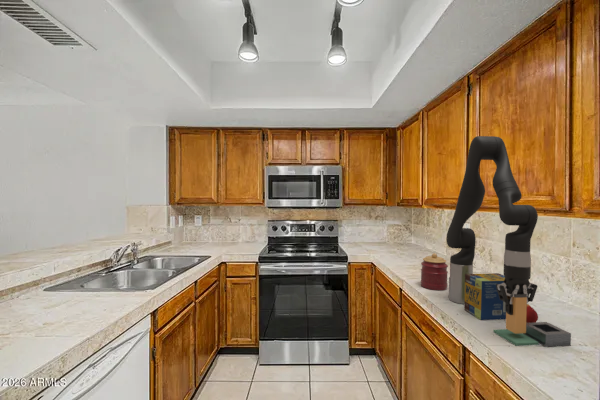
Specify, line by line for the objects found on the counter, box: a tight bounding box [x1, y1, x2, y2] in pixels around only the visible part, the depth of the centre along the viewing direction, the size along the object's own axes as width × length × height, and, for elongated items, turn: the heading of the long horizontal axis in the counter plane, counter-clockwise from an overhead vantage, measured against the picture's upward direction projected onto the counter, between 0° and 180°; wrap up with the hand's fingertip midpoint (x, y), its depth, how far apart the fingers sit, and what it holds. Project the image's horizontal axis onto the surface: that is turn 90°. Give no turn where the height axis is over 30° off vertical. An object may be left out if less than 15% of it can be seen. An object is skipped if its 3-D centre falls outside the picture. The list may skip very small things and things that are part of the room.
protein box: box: [463, 272, 506, 321], centre depth 126 cm, size 10×15×16 cm
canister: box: [420, 252, 449, 291], centre depth 163 cm, size 13×13×18 cm
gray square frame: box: [523, 321, 572, 348], centre depth 105 cm, size 9×9×4 cm
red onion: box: [526, 303, 539, 323], centre depth 116 cm, size 6×6×8 cm
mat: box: [493, 328, 539, 347], centre depth 106 cm, size 10×8×1 cm
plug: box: [505, 292, 528, 334], centre depth 105 cm, size 4×4×13 cm
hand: (515, 313), depth 106 cm, fingers closed on plug, 4 cm apart
